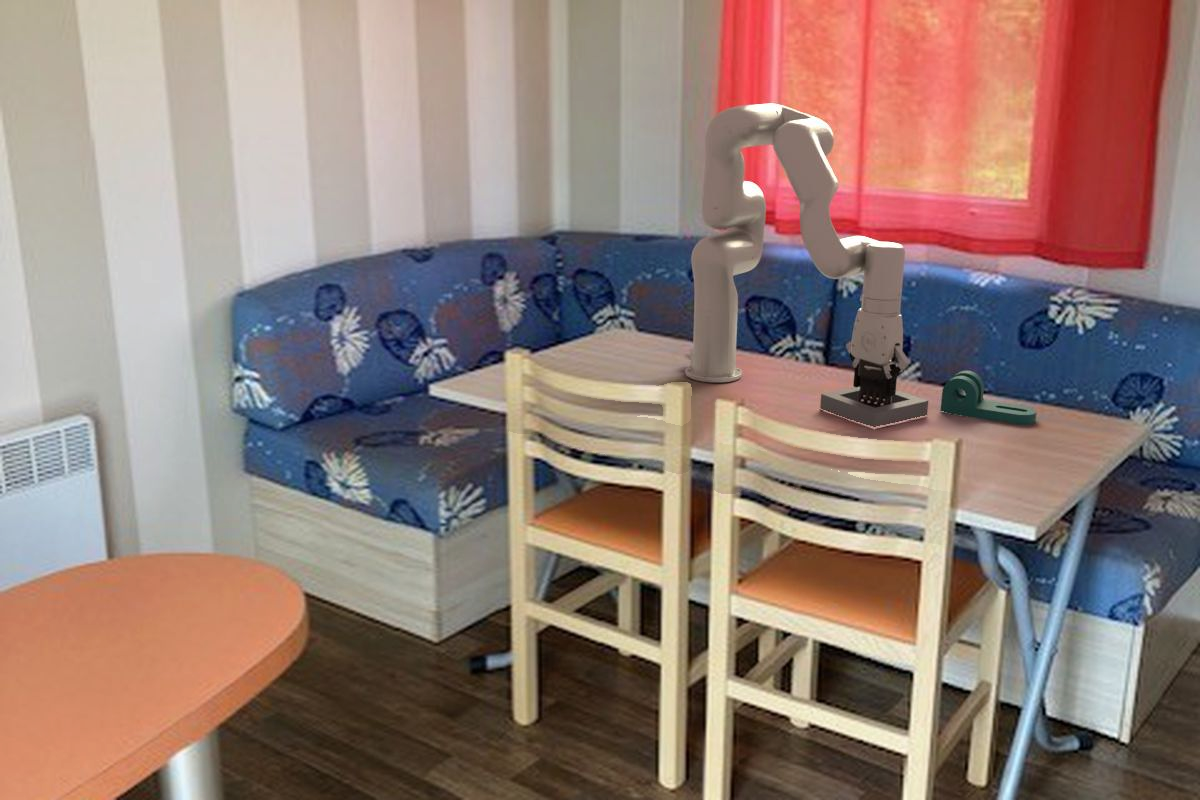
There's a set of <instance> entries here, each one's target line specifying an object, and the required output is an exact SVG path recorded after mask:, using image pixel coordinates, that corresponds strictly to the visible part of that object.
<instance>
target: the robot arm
mask: <svg viewBox="0 0 1200 800" xmlns="http://www.w3.org/2000/svg"><path fill="white" fill-rule="evenodd" d="M834 139H835V138H834V134H833V130H832V129H831V127H830V126H829V125H828V124H827V123H826V121H823V120H822V119H820V118H819V117H815V116H813V115H811V114H808V113H804V112H801V111H798V110H796V109H793V108H790V107H787V106H785V105H781V104H777V103H761V104H760V103H759V104H758V103H757V104H745V105H744V104H743V105H737V106H733V107H729V108H726V109H724V110H722V111H720V112H718V113H717V114H716V115H715V116H714V117H713V118H712V119H711V120H710V122H709V123H708V126H707V127H706V131H705V137H704V151H705V152H704V154H705V155H704V156H705V157H704V158H705V159H704V171H703V172H704V173H703V185H702V195H701V196H702V198H701V218H702V221H704V223H705V225H707V226H708V227H709V228H712V229H716V230H722V229H723V230H726V232H721V233H716V234H711V235H708V236H705V237H703V238H702V239H700V240H699V241H698V242H697V243H696V244H695V246H693V249H692V253H691V256H690V257H691V258H690V259H691V260H690V261H691V263H690V264H691V269H692V276H693V284H694V285H693V286H694V290H693V291H694V299H693V300H694V306H693V307H694V308H693V309H694V310H693V336H692V337H693V339H692V340H693V342H692V349H691V350H690V351H689V352H686V353H685V355H684V358H685V359H687V360H689V361H690V365H689V366H687V367H686V368H685V376H686V377H687V378H689V379H691V380H694V381H699V382H702V383H715V384H716V383H717V384H718V383H731V382H734V381H737V380H739V379H741V378H742V376H743V370H742V369H741V368H740V367H737V366H736V359H737V358H736V355H737V334H738V333H737V331H738V312H739V311H738V310H739V308H738V307H739V297H738V296H739V295H738V291H737V288H736V284H735V281H734V276H736V275H740V274H743V273H747V272H749V271H751V270H753V269H755V268H756V267H757V265H758V264H759V263H760V260H761V258H762V253H763V248H764V246H763V245H764V238H765V237H764V236H765V235H764V234H765V227H766V226H765V225H766V214H767V213H766V212H767V203H766V199H765V196H764V193H763V191H762V189H761V188H760V187H759V186H758V185H757V184H756V183H754V182H752V181H747V180H745V171H746V163H745V159H744V158H745V157H744V154H743V153H742V149H744V148H748V147H749V148H750V147H760V146H767V145H770V146H772V148H773V150H774V154H775V155H776V157H777V159H778V161H779V163H780V165H781V167H782V169H783V171H784V173H785V175H786V178H787V179H788V181H789V183H790V185H791V187H792V190H793V192H794V193H795V195H796V197H797V199H798V202H799V206H800V207H799V226H800V235H801V238H802V239H801V240H802V242H803V243H804V246H805V249H806V250H807V253H808V255H809V256H810V258H811V260H812V262H813V265H814V266H815V267H816V269H817V270H818V271H819V272H820V273H821V274H822V275H823V276H824V277H826V278H828V279H832V280H840V279H843V278H846V277H851V276H854V275H859V274H863V279H862V280H863V281H862V282H863V283H862V294H861V295H860V297H859V301H860V302H861V307H860V308H858V310H857V313H856V315H855V320H854V323H853V330H852V334H851V335H852V336H851V340H850V341H849V342H847V343H846V344H845V348H846V350H847V352H848V354H849V358H850V360H851V362H852V364H851V365H852V367H853V368H854V372H853V373H854V374H853V384H852V385H853V386H852V387H860V376H858V369H859V360H860V359H862V360H864V361H867V362H870V363H874V364H877V365H881V366H883V368H884V371H885V374H886V377H885V378H884V379H883V389H882V396H883V397H890V396H894V395H895V393H896V390H897V379H898V377H900V376H901V375H902V374H903V372H905V370H906V369H907V367H909V365H910V363H911V362H910V359H909V358H908V357H907V355H906V354H905V352H904V351H903V350H904V349H903V346H904V345H903V344H904V343H903V342H904V326H903V317H902V313H901V306H902V293H903V281H904V270H905V257H906V251H905V247H904V246H903V245H902V244H901V243H898V242H894V241H893V242H892V241H891V242H890V241H879V240H877V239H873V238H869V237H867V236H863V235H852V236H848V237H843V238H840V237H839V235H838V233H837V231H836V229H835V227H834V224H833V222H832V219H831V215H830V214H831V213H830V210H831V209H830V208H831V207H830V206H831V203H832V200H833V197H834V196H835V195H836V193H837V191H838V189H839V181H838V179H837V177H836V175H835V173H834V171H833V169H832V167H831V166H830V164H829V162H828V159H827V156H828V155H829V154H830V153H831V152H832V150H833V148H834V147H833V146H834V142H835V140H834ZM891 360H892V361H891ZM889 365H892V370H891V369H890V366H889Z"/></svg>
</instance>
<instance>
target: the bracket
mask: <svg viewBox="0 0 1200 800" xmlns="http://www.w3.org/2000/svg"><path fill="white" fill-rule="evenodd" d="M984 391H985V384H984V381H983V378H981V376H980V375H979V374H978V373H977V372H975V371H973V370H961V371H958V373H956V374H954V375H953V376H952V377H951V378H950V379H949V380H948V381H947V382H946V383H945V385H944V386H943V388H942V391H941V402H940V411H944V412H947V413H951V414H950V415H954V414H956V415H955V416H960V415H962V416H961V417H966V416H968V418H972V417H973V418H974V419H980V420H985V421H991V422H999V423H1004V424H1011V425H1016V426H1017V425H1018V426H1019V425H1020V426H1029V425H1033V424H1035V423H1036V419H1037V413H1038V412H1037V409H1035V408H1033V407H1031V406H1027V405H1023V404H1016V403H1015V404H1014V403H1009V402H1004V401H1003V402H1002V401H996V400H989V399H984ZM947 413H946V414H947Z"/></svg>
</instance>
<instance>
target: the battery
mask: <svg viewBox="0 0 1200 800" xmlns="http://www.w3.org/2000/svg"><path fill="white" fill-rule="evenodd" d="M891 361H892V360H891ZM889 366H890V369H891V370H892V365H889ZM858 376H860V393H859V398H858V402H860V403H863V404H866V405H869V406H871V407H874V408H876V407H880V406H884V405H889V404H892V396H890V397H883V396H882V389H883V379H884V378H885V377H886V374H885V371H884V368H883V366H881V365H877V364H874V363H870V362H867V361H864V360H862V359H860V360H859V369H858Z"/></svg>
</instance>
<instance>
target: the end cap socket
mask: <svg viewBox="0 0 1200 800" xmlns="http://www.w3.org/2000/svg"><path fill="white" fill-rule="evenodd" d="M859 393H860V387H854V386H851V387H847V388H842V389H838V390H833V391H829V392H824V393H823V392H822V393H820V406H819V409H820V408H821V409H823V410H826V411H828V412H831V413H834V414H836V415H839V416H842V417H845V418H847V419H850V420H854V421H856V422H860V423H863V424H866V425H870V426H873V427H876V426H880V425H886V424H890V423H895V422H899V421H903V420H907V419H911V418H915V417H916V418H917V417H920V416H925V415H927V416H928V412H929V411H928V410H929V409H928V408H929V400H928V399H925V398H923V397H922V398H921V397H918V396H916V395H912V394H909V393H906V392H903V391H901V390H897V389H896V393H895V395H894V396H892V404H889V405H884V406H880V407H876V408H874V407H871V406H869V405H866V404H863V403H860V402H858V398H859Z"/></svg>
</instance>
